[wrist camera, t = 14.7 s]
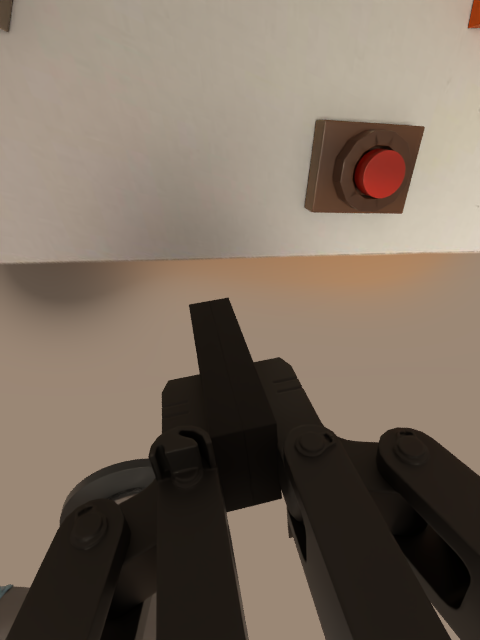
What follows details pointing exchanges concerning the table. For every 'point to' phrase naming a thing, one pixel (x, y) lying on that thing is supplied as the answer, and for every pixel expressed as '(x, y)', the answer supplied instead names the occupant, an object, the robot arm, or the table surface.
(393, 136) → the button block
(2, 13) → the hob
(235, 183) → the table surface
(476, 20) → the orange phone stand
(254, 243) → the table surface
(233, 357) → the robot arm
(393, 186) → the power button
